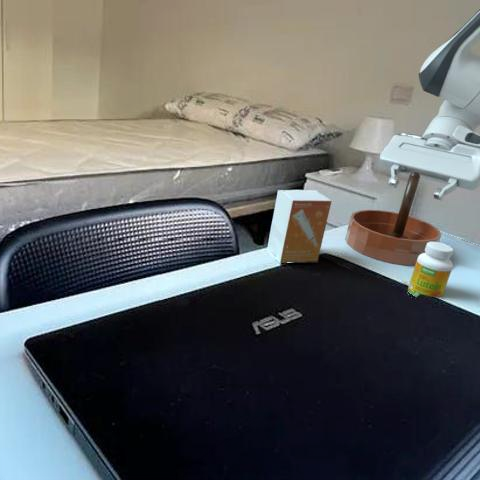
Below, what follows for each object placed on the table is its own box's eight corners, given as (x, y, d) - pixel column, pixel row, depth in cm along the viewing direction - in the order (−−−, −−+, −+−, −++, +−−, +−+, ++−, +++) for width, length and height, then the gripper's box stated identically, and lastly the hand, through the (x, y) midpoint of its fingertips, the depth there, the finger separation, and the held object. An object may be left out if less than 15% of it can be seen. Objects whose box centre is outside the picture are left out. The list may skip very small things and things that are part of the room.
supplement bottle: (407, 299, 85) (423, 248, 82) (406, 286, 90) (421, 237, 86) (442, 308, 84) (460, 255, 80) (438, 294, 88) (456, 244, 84)
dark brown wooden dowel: (412, 245, 107) (434, 173, 101) (402, 250, 104) (424, 176, 97) (388, 236, 110) (408, 167, 104) (378, 242, 107) (397, 170, 101)
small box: (279, 265, 94) (292, 200, 89) (265, 251, 100) (277, 189, 95) (318, 264, 96) (332, 200, 91) (302, 250, 102) (315, 189, 96)
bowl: (444, 255, 105) (453, 229, 103) (412, 277, 94) (421, 248, 92) (367, 229, 116) (373, 204, 114) (329, 245, 105) (336, 219, 103)
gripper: (395, 122, 111) (364, 170, 108) (498, 141, 98) (465, 197, 95) (398, 140, 116) (368, 187, 113) (496, 161, 102) (465, 214, 100)
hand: (413, 191), depth 104 cm, fingers open, 8 cm apart
